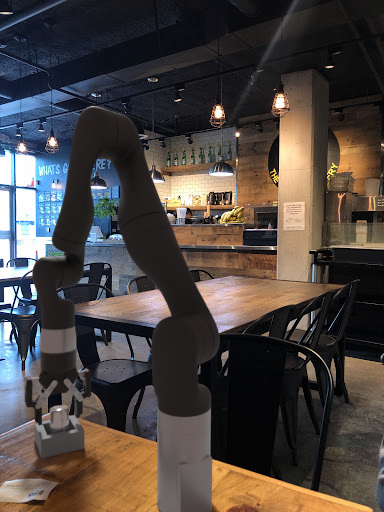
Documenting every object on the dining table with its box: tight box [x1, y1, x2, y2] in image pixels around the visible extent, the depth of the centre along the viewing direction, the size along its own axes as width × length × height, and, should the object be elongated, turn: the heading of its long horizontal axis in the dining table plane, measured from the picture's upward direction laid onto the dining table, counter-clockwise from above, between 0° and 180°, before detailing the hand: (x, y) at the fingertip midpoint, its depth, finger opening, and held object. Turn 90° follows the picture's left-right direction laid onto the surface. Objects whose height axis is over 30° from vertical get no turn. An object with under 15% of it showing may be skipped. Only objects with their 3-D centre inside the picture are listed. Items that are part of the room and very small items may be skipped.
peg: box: [49, 404, 70, 435], centre depth 94 cm, size 4×4×8 cm
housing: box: [33, 414, 86, 460], centre depth 94 cm, size 9×9×4 cm
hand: (58, 420), depth 94 cm, fingers open, 7 cm apart
